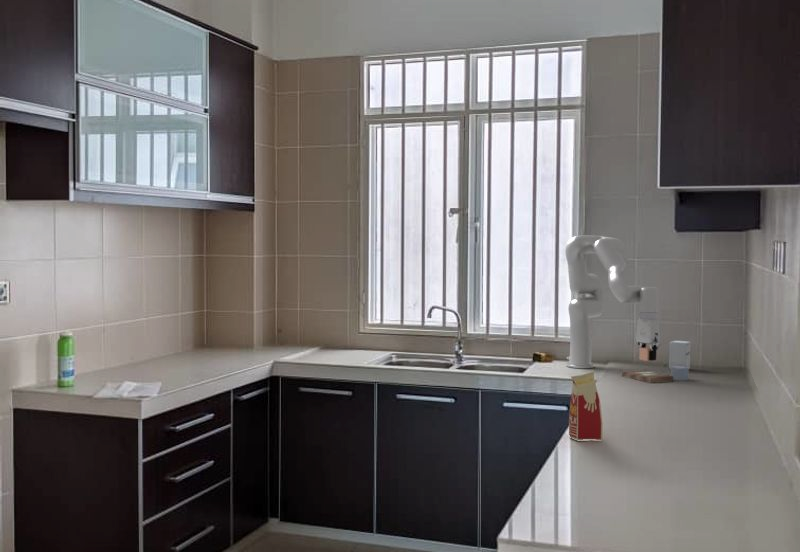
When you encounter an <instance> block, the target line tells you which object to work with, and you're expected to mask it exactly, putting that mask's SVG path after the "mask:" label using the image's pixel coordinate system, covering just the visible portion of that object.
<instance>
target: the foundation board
mask: <svg viewBox="0 0 800 552" xmlns="http://www.w3.org/2000/svg"><path fill="white" fill-rule="evenodd" d="M624 376H626V377H625V378H628V377H630V378H629V379H632V378H634V379H633V380H636V379H637V381H640V380H641V381H640V382H644V381H645V383H648V382H649V383H650V384H654V382H656V383H665V382H674V379H673V376H671V374H670V375H669V374H665V373H660V372H656V371H651V370H647V369H635V370H622V371H621V377H624Z"/></svg>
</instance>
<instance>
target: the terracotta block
mask: <svg viewBox="0 0 800 552" xmlns="http://www.w3.org/2000/svg"><path fill="white" fill-rule="evenodd" d="M638 348H639V347H638ZM649 351H651V350H650V346H646V347H644V348H639V355H638V356H639V360H640V361H645V362H656V361H658V350H657V351H656V360H649Z"/></svg>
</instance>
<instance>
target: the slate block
mask: <svg viewBox="0 0 800 552" xmlns="http://www.w3.org/2000/svg"><path fill="white" fill-rule="evenodd" d="M689 371H690V369H689V368H686V367H681V366H677V367H671V369H670V376H673V380H675V381H688V380H689V375H690V374H689Z"/></svg>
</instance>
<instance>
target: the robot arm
mask: <svg viewBox="0 0 800 552" xmlns="http://www.w3.org/2000/svg"><path fill="white" fill-rule="evenodd" d="M624 250H625V246H624V243H623V241H621V240H620V238H616V237H610V236H609V237H608V236H603V235H592V234H591V235H587V234H585V235H584V234H582V235H581V234H580V235H575V236H573V237H571V238H570V239H569V240H568V241H567V242H566V245H565V251H564V252H565V259H566V261H567V270H568V281H569V282H568V283H569V289H570V292H571V293H572V294H574V295H581V296H582V295H585V297H576V298H574V299H571V301H570V302H569V304H568V307H567V308H568V315H569V325H570V329H569V333H570V335H569V336H570V337H569V356H567V357H566V359H567V360H568V362H566V363H565V365H566V367H568V368H571V369H573V368H574V369H593V368H595V364H594V363H592V335H593V334H592V332H593V331H592V324H591V322H590V319H593V318H598V317H600V316H601V315H602V314H603V313H604V310H605V303H604V302H605V301H604V293H603V292H604V290H603V284H602V281H601V279H600V277H599V276H598V275H597V274H595V273H589V271H588V264H587V261H586V259H585V258H584V256H583V255H596V256H597V257H598V259H599V261H600V263H601V264H602V266H603V267H604V268H605V270H606V271H607V273H608V274H607V275H608V276H607V281H608V287H609V289H610V291H611V292H612V294H613V295H614V297H615V298H616V299H617V301H618V302H620V303H622V304H638V305H639V308H638V310H639V312H638V314H639V317H638V318H637V319H638V320H637V323H636V330H635V342H636V343H637V345H638V348H644V347H647V345H649V347H650V350H651V351H649V360H656V351H657V352H658V349H659V347H661V345H662V342H661V340H660V338H661V337H660V323H659V289H658V287H656V286H643V285H639V284H638V285H637V284H635V285H633V284H632V285H627V284H625V281H624V279H622V276H621V273H622V272H623V271H624V269H625V268H626V267H627V266H626V265H627V263H626V262H625V260H624V258H623V257H622V255H623V253H624Z"/></svg>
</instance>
